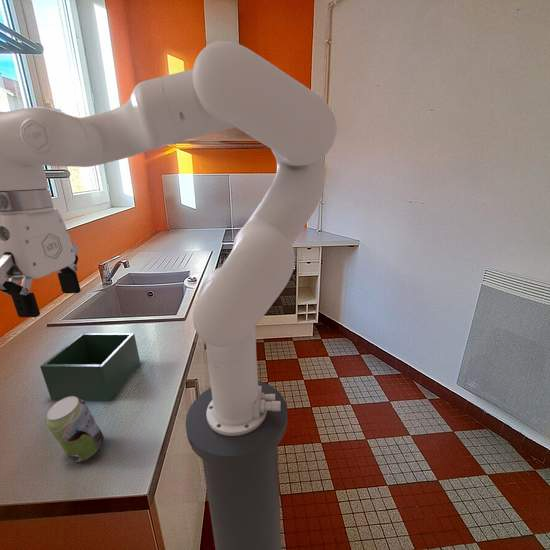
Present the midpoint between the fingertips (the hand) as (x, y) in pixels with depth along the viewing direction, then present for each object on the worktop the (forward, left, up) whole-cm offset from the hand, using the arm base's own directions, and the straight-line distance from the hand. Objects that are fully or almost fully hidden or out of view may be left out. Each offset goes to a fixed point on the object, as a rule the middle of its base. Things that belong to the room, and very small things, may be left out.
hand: (52, 303), depth 52 cm
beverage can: (-2, +5, -29) cm, 30 cm away
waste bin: (+8, -16, -29) cm, 34 cm away
